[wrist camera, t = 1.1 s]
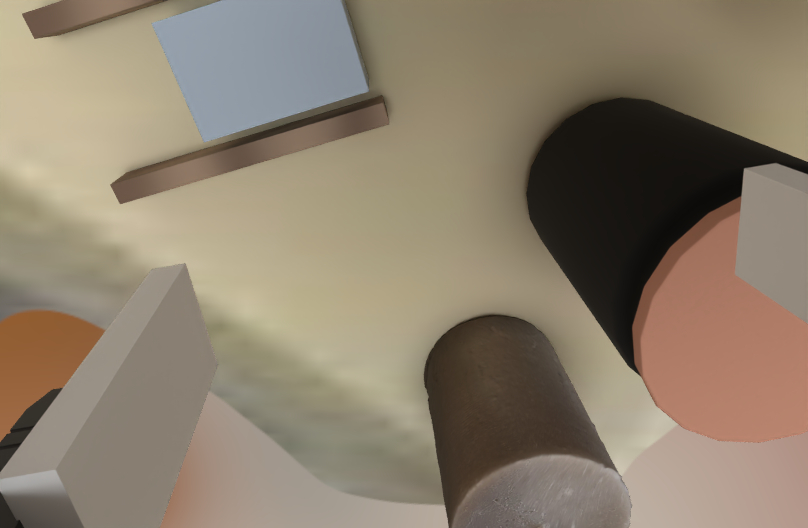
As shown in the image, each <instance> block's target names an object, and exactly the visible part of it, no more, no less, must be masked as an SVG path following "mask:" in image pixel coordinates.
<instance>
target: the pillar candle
mask: <svg viewBox="0 0 808 528" xmlns="http://www.w3.org/2000/svg"><path fill="white" fill-rule="evenodd" d="M424 382H425V383H424V384H425V388H426V389H427V393H428V395H429V398H428V401H429V410H430V414H431V419H432V424H433V430H434V436H435V445H436V453H437V459H438V464H439V468H440V475H441V481H442V488H443V496H444V502H445V507H446V512H447V518H448V524H449V528H629V526H630V517H631V508H632V504H631V501H630V496H629V493H628V489H627V487H626V485H625V484H624V482H623V481H622V479H621V477H622V476H620V475H619V473H618V471H617V469H616V467H615V465H614V464H613V462H612V460H611V458H610V456H609V454H608V452H607V451H606V448H605V446H604V444H603V442H602V441H601V440H600V438H599V436H598V433H597V431H596V428H595V425H594V424H593V423H592V422H591V420H590V418H589V416H588V414H587V412H586V410H585V408H584V406H583V404H582V402H581V401H580V399H579V397H578V394H577V392H576V391H575V388H574V386H573V385H572V383H571V381H570V379H569V377H568V376H567V374H566V372H565V370H564V368H563V366H562V364H561V362H560V361H559V359H558V357H557V355H556V353H555V351H554V349H553V347H552V346H551V344H550V343H549V341H548V340H547V339H546V337H545V336H544V334H543V333H542V332H540V331H539V330H538V329H536V328H535V326H533V325H531V324H530V323H527V322H525V321H522V320H520V319H517V318H512V317H506V316H491V317H489V316H488V317H483V318H479V319H475V320H471V321H468V322H465V323H463V324H461V325H458V326H457V327H455V328H453V329H451V330H450V331H449V332H447V334H445V335H444V336H443V337H442V338H441V339H440V340H439V341H438V342H437V343H436V345H435V346H434V349H432V351H431V352H430V354H429V357H428V359H427V362H426V366H425V372H424Z"/></svg>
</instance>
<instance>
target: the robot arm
mask: <svg viewBox="0 0 808 528" xmlns="http://www.w3.org/2000/svg"><path fill="white" fill-rule="evenodd" d="M735 275H736V276H738V277H739V278H741V279H742V280H744V281H745V282H747V283H748V284H750V285H751V286H753V287H754V288H756V289H757V290H759V291H760V292H761V293H763V294H764V295H766V296H767V297H769V298H770V299H772V300H773V301H775V302H776V303H778V304H779V305H781V306H782V307H784V308H785V309H787V310H788V311H790V312H791V313H793V314H794V315H795V316H797V317H798V318H800V319H801V320H803V321H804V322H806V323H807V324H808V174H805V173H802V172H799V171H797V170H794V169H791V168H788V167H785V166H782V165H780V164H777V163H774V164H768V165H762V166H756V167H750V168H744V175H743V186H742V197H741V209H740V220H739V231H738V243H737V254H736V266H735ZM217 366H218V363H217V360H216V357H215V353H214V350H213V347H212V344H211V341H210V338H209V335H208V332H207V329H206V326H205V322H204V319H203V316H202V313H201V310H200V307H199V304H198V301H197V298H196V295H195V291H194V288H193V285H192V282H191V279H190V276H189V273H188V270H187V267H186V264H179V265H173V266H167V267H161V268H155V269H152V270H151V271H150V272H149V274H148V275H147V276H146V278H145V279H144V280H143V282H142V283H141V284H140V286H139V287H138V288H137V290H136V291H135V292H134V294H133V295H132V296H131V298H130V299H129V300H128V302H127V303H126V305H125V306H124V307H123V309H122V310H121V311H120V313H119V314H118V315H117V317H116V318H115V319H114V321H113V322H112V323H111V325H110V326H109V327H108V329H107V330H106V331H105V333H104V334H103V335H102V337H101V338H100V339H99V341H98V342H97V343H96V345H95V346H94V347H93V349H92V350H91V352H90V353H89V354H88V355H87V357H86V358H85V360H84V361H83V362H82V364H81V365H80V366H79V367H78V369H77V370H76V372H75V373H74V374H73V376H72V377H71V378H70V380H69V381H68V382H67V384H66V385H65V386H64V388H60V389H53V390H51V391H50V392H48V393H47V394H46V395H45V396H43V397H42V398H41V399H39V400H38V401H37V402H36V403H34V404H33V405H32V406H30V407H29V408H28V409H26V411H25V412H24V413H23V415H22V416H21V417H20V418H19V419H18V421H17V422H16V423H15V425H14V426H13V427H12V428H11V430H10V431H11V433H10V434H7V435H6V436H5V437H4V439H3V440H2V441H1V442H0V528H160V525H161V522H162V520H163V517H164V514H165V512H166V509H167V506H168V503H169V500H170V497H171V495H172V492H173V489H174V486H175V483H176V481H177V478H178V475H179V472H180V470H181V467H182V464H183V461H184V458H185V456H186V453H187V450H188V447H189V444H190V442H191V439H192V436H193V433H194V430H195V428H196V425H197V422H198V419H199V416H200V414H201V411H202V408H203V405H204V402H205V400H206V397H207V394H208V391H209V389H210V386H211V383H212V380H213V377H214V375H215V372H216V369H217Z"/></svg>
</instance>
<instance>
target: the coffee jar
mask: <svg viewBox="0 0 808 528" xmlns="http://www.w3.org/2000/svg"><path fill="white" fill-rule="evenodd" d="M774 163H777V164H780V165H782V166H785V167H788V168H791V169H794V170H797V171H799V172H802V173H805V174H808V162H806V161H804V160H801V159H799V158H796V157H793V156H791V155H788V154H786V153H783V152H781V151H778V150H776V149H773V148H770V147H768V146H765V145H763V144H760V143H758V142H755V141H752V140H750V139H747V138H745V137H742V136H740V135H737V134H734V133H732V132H729V131H727V130H724V129H722V128H719V127H716V126H714V125H711V124H709V123H706V122H704V121H701V120H698V119H696V118H693V117H691V116H688V115H686V114H683V113H680V112H678V111H675V110H673V109H670V108H668V107H665V106H662V105H660V104H657V103H655V102H652V101H650V100H641V99H630V98H618V99H613V100H609V101H605V102H601V103H596V104H592V105H591V106H589V107H587V108H585V109H584V110H582V111H580V112H578V113H577V114H575V115H573V116H571V117H570V118H568V119H566V120H565V121H564V122H563V123H562V124H561V125H560V126H559V127H558V128H557V129H556V130H555V132H554V133H553V134H552V135H551V136H550V137H549V138H548V139H547V140H546V141H545V142H544V144H543V146H542V148H541V150H540V152H539V154H538V156H537V158H536V159H535V161H534V163H533V165H532V167H531V172H530V178H529V183H528V188H527V201H528V208H529V215H530V220H531V221H532V223H533V225H534V227H535V229H536V231H537V233H538V235H539V236H540V238H541V240H542V242H543V243H544V244H545V246H546V247H547V249H548V250H549V252H550V253H551V255H552V256H553V258H554V259H555V260H556V262H557V263H558V265H559V266H560V268H561V269H562V271H563V272H564V273H565V275H566V276H567V278H568V279H569V281H570V282H571V284H572V285H573V287H574V288H575V289H576V291H577V292H578V294H579V295H580V297H581V298H582V300H583V301H584V302H585V304H586V305H587V307H588V308H589V310H590V311H591V313H592V314H593V316H594V317H595V318H596V320H597V321H598V323H599V324H600V326H601V327H602V329H603V330H604V331H605V333H606V334H607V336H608V337H609V339H610V340H611V342H612V343H613V345H614V346H615V347H616V349H617V350H618V352H619V353H620V355H621V356H622V358H623V359H624V360H625V362H626V363H627V365H628V366H629V367H630V368H631V369H632V370H634V371H635V372H636V373H637V374H638V375H640V376H641V377H642V379H643V381H644V383H645V385H646V387H647V389H648V391H649V393H650V395H651V397H652V399H653V401H654V402H655V404H656V406H657V407H658V408H660V409H661V410H662V411H663V412H664V413H666V414H667V415H668V416H669V417H671V418H672V419H673V420H674V421H675V422H677V423H678V424H679V425H680V426H681V427H683V428H685V429H687V430H689V431H692V432H696V433H698V434H701V435H704V436H707V437H710V438H712V439H715V440H718V441H734V442H758V443H759V442H764V441H769V440H774V439H779V438H784V437H789V436H794V435H799V434H802V433H805V432H807V431H808V324H807V323H806V322H804V321H803V320H801V319H800V318H798V317H797V316H795V315H794V314H793V313H791V312H790V311H788V310H787V309H785V308H784V307H782V306H781V305H779V304H778V303H776V302H775V301H773V300H772V299H770V298H769V297H767V296H766V295H764V294H763V293H761V292H760V291H759V290H757V289H756V288H754V287H753V286H751V285H750V284H748V283H747V282H745V281H744V280H742V279H741V278H739V277H738V276H736V275H735V266H736V254H737V243H738V231H739V220H740V209H741V197H742V186H743V175H744V168H750V167H756V166H762V165H768V164H774Z"/></svg>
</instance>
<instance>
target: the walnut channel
mask: <svg viewBox="0 0 808 528" xmlns="http://www.w3.org/2000/svg"><path fill="white" fill-rule="evenodd" d="M164 1H167V0H63V1H60V2H57V3H54V4H51V5H48V6H45V7H42V8H39V9H35V10H32V11H29V12H26V13H23V14H22V15H23V17H24V19H25V21H26V23H27V25H28V27H29V29H30V31H31V33H32V35H33V37H34V39H36V38H43V37H50V36H57V35H61V34H64V33H67V32H70V31H73V30H77V29H80V28H83V27H86V26H89V25H92V24H95V23H98V22H101V21H105V20H108V19H111V18H114V17H117V16H120V15H123V14H126V13H129V12H132V11H136V10H139V9H142V8H145V7H148V6H151V5H154V4H157V3H160V2H164ZM388 124H389V118H388V113H387V110H386V107H385V103H384V100H383V96H379V97H375V98H372V99H369V100H365V101H362V102H359V103H355V104H352V105H349V106H345V107H342V108H339V109H335V110H332V111H329V112H325V113H322V114H319V115H316V116H312V117H309V118H306V119H302V120H299V121H296V122H292V123H289V124H286V125H282V126H279V127H276V128H272V129H269V130H266V131H263V132H259V133H256V134H253V135H249V136H246V137H243V138H239V139H236V140H233V141H229V142H226V143H223V144H219V145H216V146H213V147H209V148H206V149H203V150H200V151H196V152H193V153H190V154H186V155H183V156H180V157H176V158H173V159H170V160H166V161H163V162H160V163H156V164H153V165H150V166H146V167H143V168H140V169H137V170H133V171H130V172H127V173H125V174H124V175H123V176H121V177H120V178H119V179H117V180H116V181H115V182H113V183H112V184H111V187H112V189H113V191H114V193H115V195H116V197H117V199H118V201H119V203H120V204H123V203H126V202H129V201H133V200H136V199H139V198H143V197H146V196H149V195H153V194H156V193H159V192H163V191H166V190H170V189H173V188H176V187H180V186H183V185H186V184H190V183H193V182H196V181H200V180H203V179H206V178H210V177H213V176H217V175H220V174H223V173H227V172H230V171H233V170H237V169H240V168H243V167H247V166H250V165H253V164H257V163H260V162H264V161H267V160H270V159H274V158H277V157H280V156H284V155H287V154H290V153H294V152H297V151H300V150H304V149H307V148H311V147H314V146H317V145H321V144H324V143H327V142H331V141H334V140H337V139H341V138H344V137H347V136H351V135H354V134H358V133H361V132H364V131H368V130H371V129H374V128H378V127H381V126H384V125H388Z"/></svg>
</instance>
